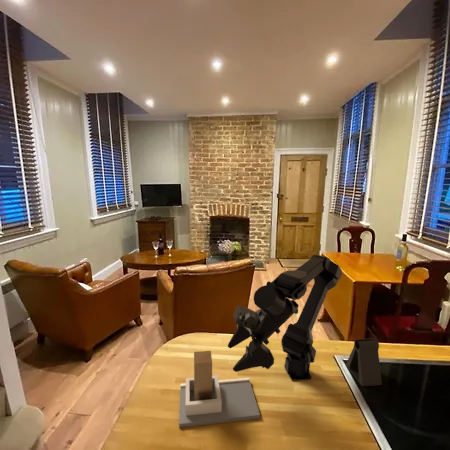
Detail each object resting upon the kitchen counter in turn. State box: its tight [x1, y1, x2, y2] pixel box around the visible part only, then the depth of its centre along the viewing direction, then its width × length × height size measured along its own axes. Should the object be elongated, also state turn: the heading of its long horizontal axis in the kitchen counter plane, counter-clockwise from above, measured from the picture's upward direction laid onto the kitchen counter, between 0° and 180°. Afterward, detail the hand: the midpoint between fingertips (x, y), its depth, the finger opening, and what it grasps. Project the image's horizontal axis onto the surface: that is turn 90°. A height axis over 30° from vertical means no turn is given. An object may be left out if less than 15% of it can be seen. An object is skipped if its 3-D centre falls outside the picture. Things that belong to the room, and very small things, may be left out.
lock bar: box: [193, 350, 213, 401], centre depth 68 cm, size 4×4×12 cm
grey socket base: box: [178, 374, 261, 428], centre depth 69 cm, size 20×12×4 cm, turn 98°
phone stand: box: [345, 337, 383, 387], centre depth 79 cm, size 9×6×12 cm, turn 5°
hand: (231, 357), depth 68 cm, fingers open, 9 cm apart
